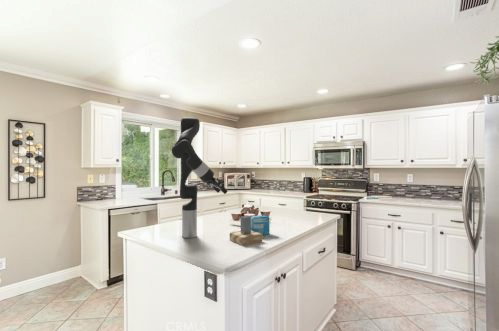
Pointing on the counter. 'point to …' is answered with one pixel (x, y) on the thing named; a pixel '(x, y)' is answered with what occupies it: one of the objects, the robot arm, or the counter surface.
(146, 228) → the counter surface
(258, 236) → the oak block
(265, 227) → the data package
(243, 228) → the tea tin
